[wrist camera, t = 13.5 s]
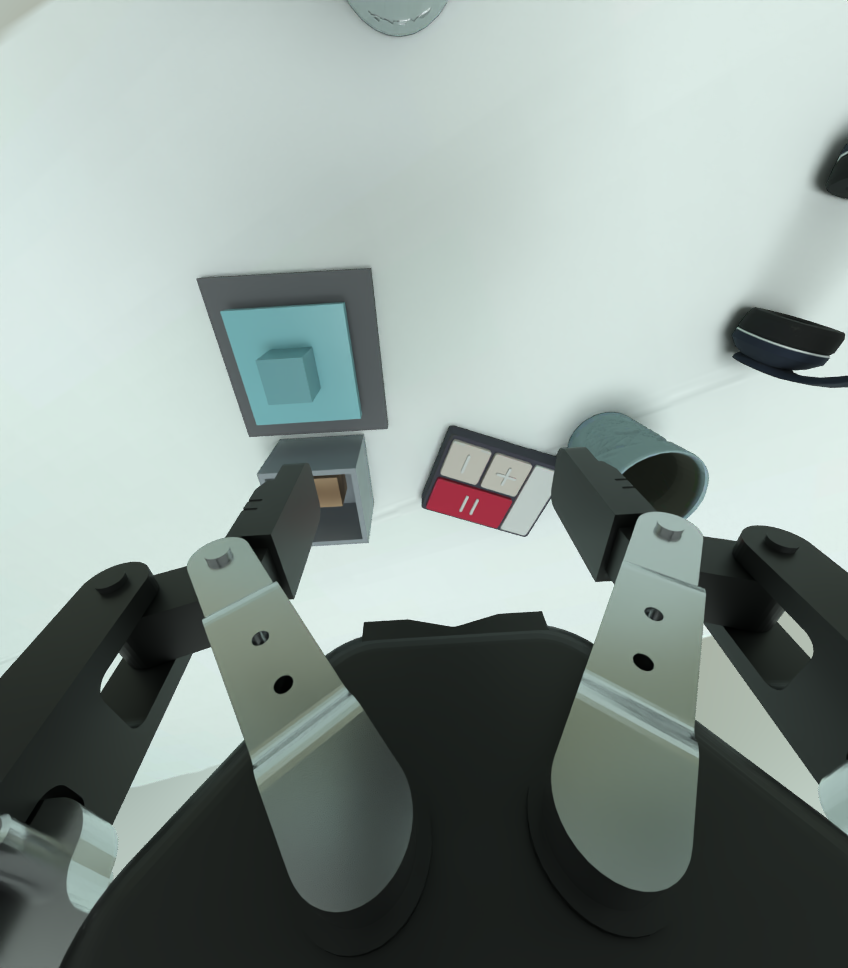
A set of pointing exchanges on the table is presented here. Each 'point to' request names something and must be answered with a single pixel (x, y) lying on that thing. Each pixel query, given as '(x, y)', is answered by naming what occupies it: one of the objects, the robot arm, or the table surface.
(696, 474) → the grey cup
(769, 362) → the headphones
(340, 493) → the block
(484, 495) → the calculator
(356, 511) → the box
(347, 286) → the mat
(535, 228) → the table surface
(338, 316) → the lid
